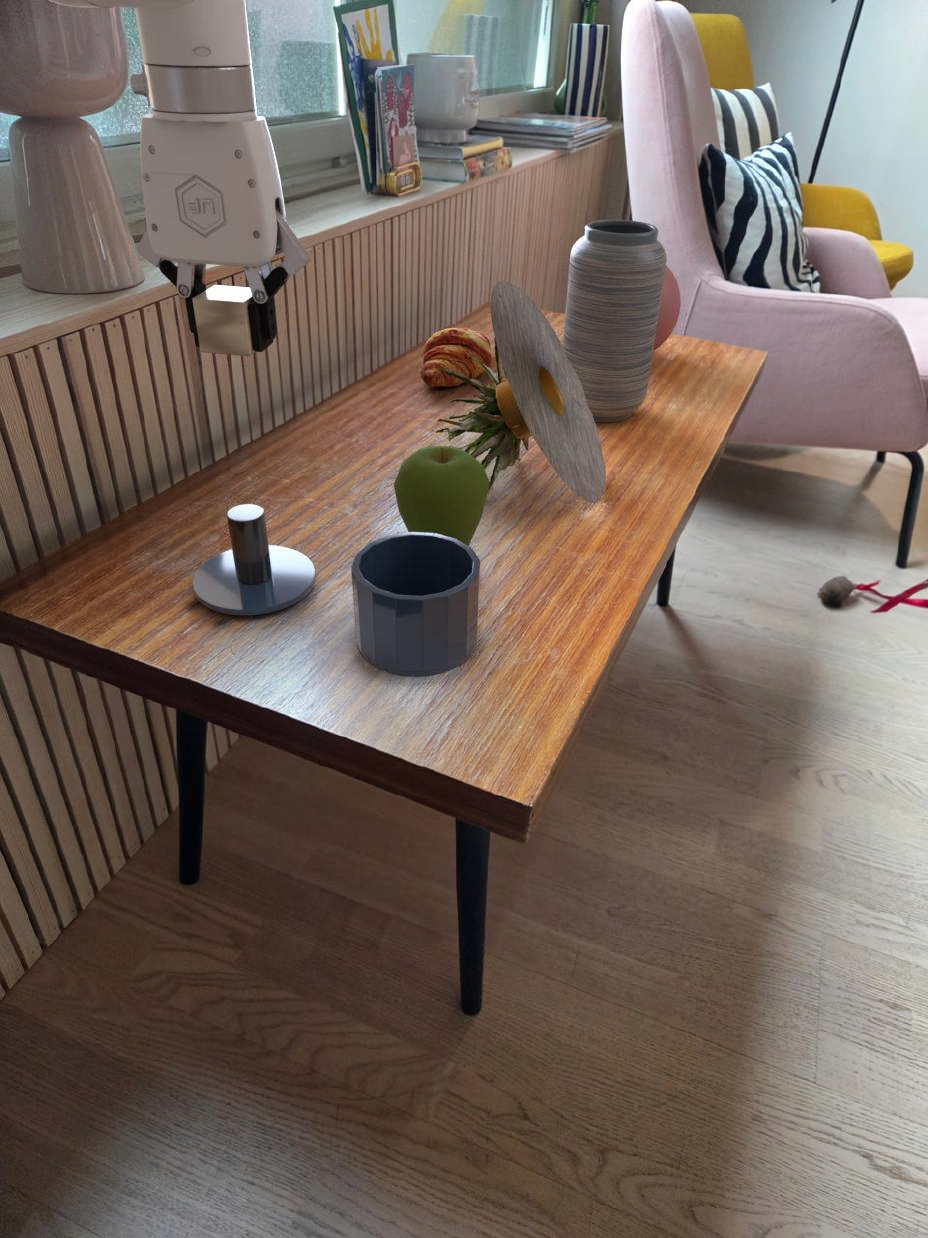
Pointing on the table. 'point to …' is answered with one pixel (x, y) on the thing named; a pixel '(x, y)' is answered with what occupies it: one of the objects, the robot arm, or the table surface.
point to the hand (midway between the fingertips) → (235, 342)
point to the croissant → (455, 356)
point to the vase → (614, 313)
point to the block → (224, 320)
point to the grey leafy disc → (531, 399)
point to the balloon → (667, 309)
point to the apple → (442, 492)
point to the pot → (416, 602)
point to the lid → (252, 570)
